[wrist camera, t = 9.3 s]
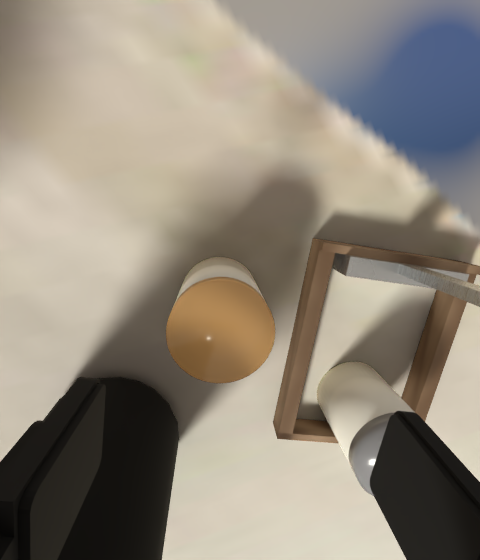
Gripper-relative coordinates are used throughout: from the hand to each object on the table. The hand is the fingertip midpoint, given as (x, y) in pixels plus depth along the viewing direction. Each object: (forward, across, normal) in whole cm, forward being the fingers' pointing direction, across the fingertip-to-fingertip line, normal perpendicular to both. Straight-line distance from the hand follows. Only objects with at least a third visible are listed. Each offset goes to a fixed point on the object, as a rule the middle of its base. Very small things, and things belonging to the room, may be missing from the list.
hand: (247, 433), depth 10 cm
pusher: (+16, -12, -3) cm, 20 cm away
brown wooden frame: (+16, -12, +3) cm, 20 cm away
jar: (+16, +1, 0) cm, 16 cm away
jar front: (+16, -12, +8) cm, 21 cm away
